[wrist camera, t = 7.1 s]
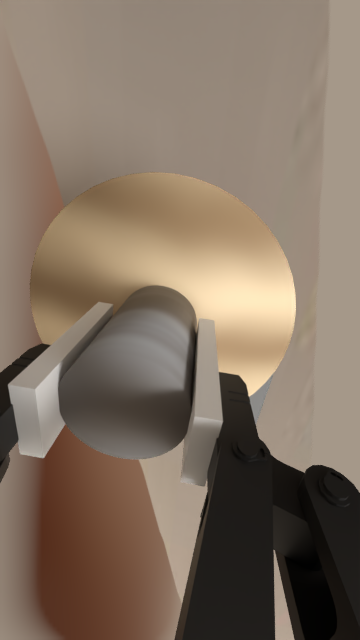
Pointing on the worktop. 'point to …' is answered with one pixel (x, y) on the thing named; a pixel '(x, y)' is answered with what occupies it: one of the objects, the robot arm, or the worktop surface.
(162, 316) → the lid
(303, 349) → the worktop surface
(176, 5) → the worktop surface
